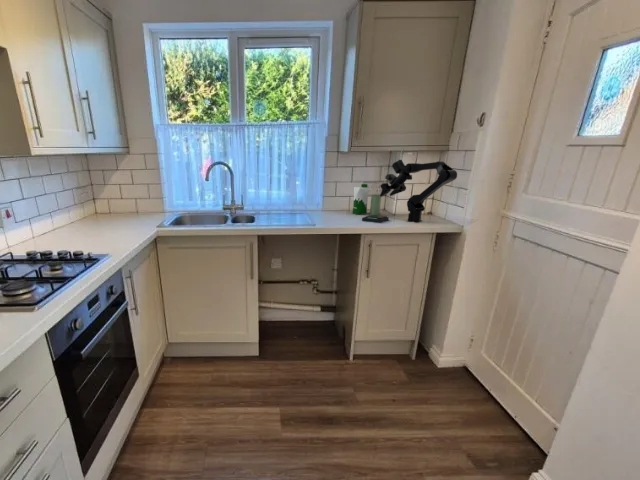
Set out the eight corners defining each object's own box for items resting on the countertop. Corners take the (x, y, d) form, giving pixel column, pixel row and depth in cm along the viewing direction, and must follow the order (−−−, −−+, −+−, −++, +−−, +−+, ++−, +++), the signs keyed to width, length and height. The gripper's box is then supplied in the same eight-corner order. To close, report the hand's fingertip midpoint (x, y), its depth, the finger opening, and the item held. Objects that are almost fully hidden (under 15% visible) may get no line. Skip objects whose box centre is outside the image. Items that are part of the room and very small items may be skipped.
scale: (388, 220, 228) (388, 216, 227) (380, 222, 220) (380, 218, 219) (370, 218, 236) (371, 214, 235) (361, 220, 228) (362, 216, 227)
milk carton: (368, 214, 252) (371, 184, 245) (357, 215, 249) (359, 185, 242) (361, 212, 260) (363, 183, 253) (350, 213, 257) (352, 184, 250)
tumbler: (381, 214, 250) (383, 195, 246) (376, 215, 246) (378, 196, 241) (372, 213, 254) (374, 194, 250) (368, 214, 250) (369, 195, 245)
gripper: (404, 169, 233) (389, 185, 246) (384, 170, 225) (369, 187, 238) (413, 182, 230) (397, 198, 243) (392, 184, 221) (377, 200, 234)
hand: (385, 195), depth 239 cm, fingers open, 9 cm apart
